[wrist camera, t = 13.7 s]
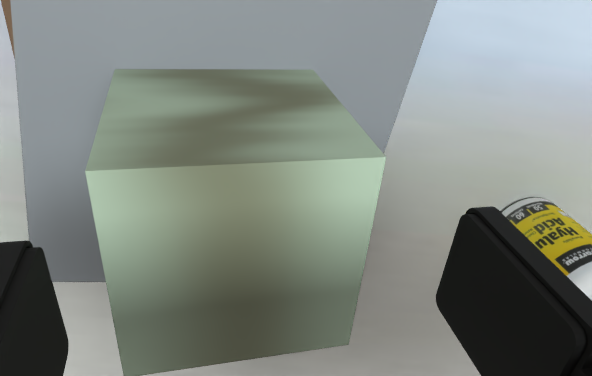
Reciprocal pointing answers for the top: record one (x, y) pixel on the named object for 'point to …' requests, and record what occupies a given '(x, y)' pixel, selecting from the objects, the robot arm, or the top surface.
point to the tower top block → (183, 55)
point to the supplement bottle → (556, 238)
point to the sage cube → (229, 214)
